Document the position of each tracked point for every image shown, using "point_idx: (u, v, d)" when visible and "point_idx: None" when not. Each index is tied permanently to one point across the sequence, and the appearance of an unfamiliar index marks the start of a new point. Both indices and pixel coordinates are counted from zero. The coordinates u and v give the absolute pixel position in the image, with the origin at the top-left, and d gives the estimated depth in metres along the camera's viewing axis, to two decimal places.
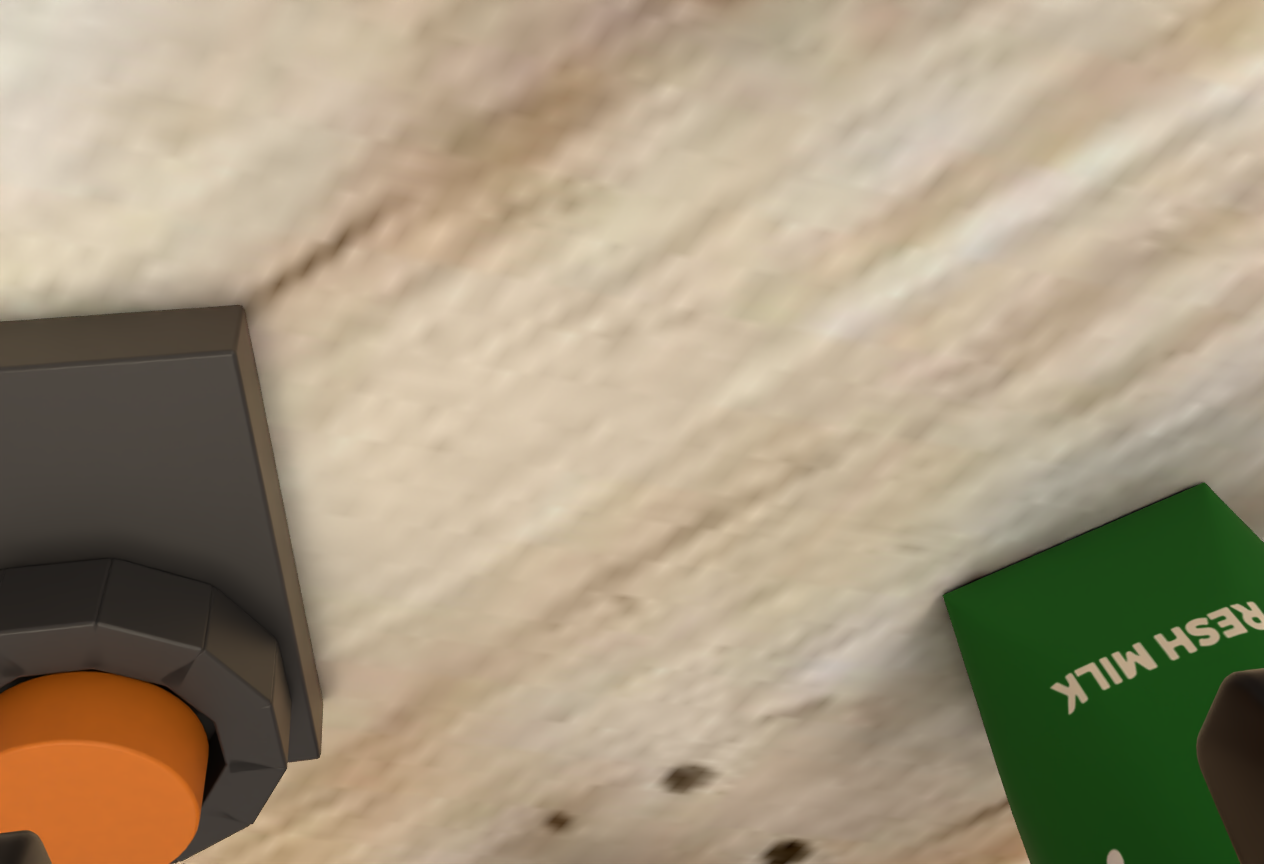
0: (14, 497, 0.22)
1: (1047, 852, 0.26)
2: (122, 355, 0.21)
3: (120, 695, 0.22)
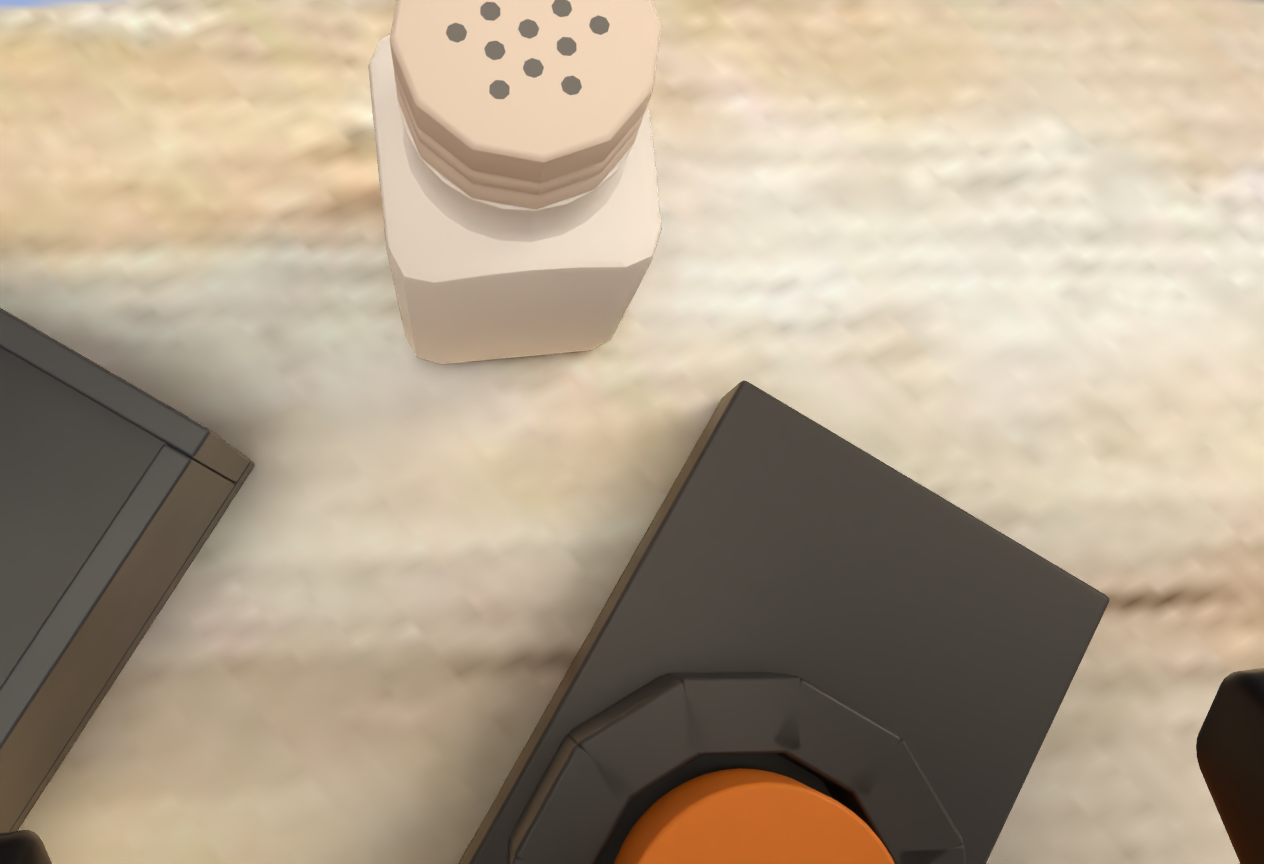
0: (844, 609, 0.21)
1: None
2: None
3: None
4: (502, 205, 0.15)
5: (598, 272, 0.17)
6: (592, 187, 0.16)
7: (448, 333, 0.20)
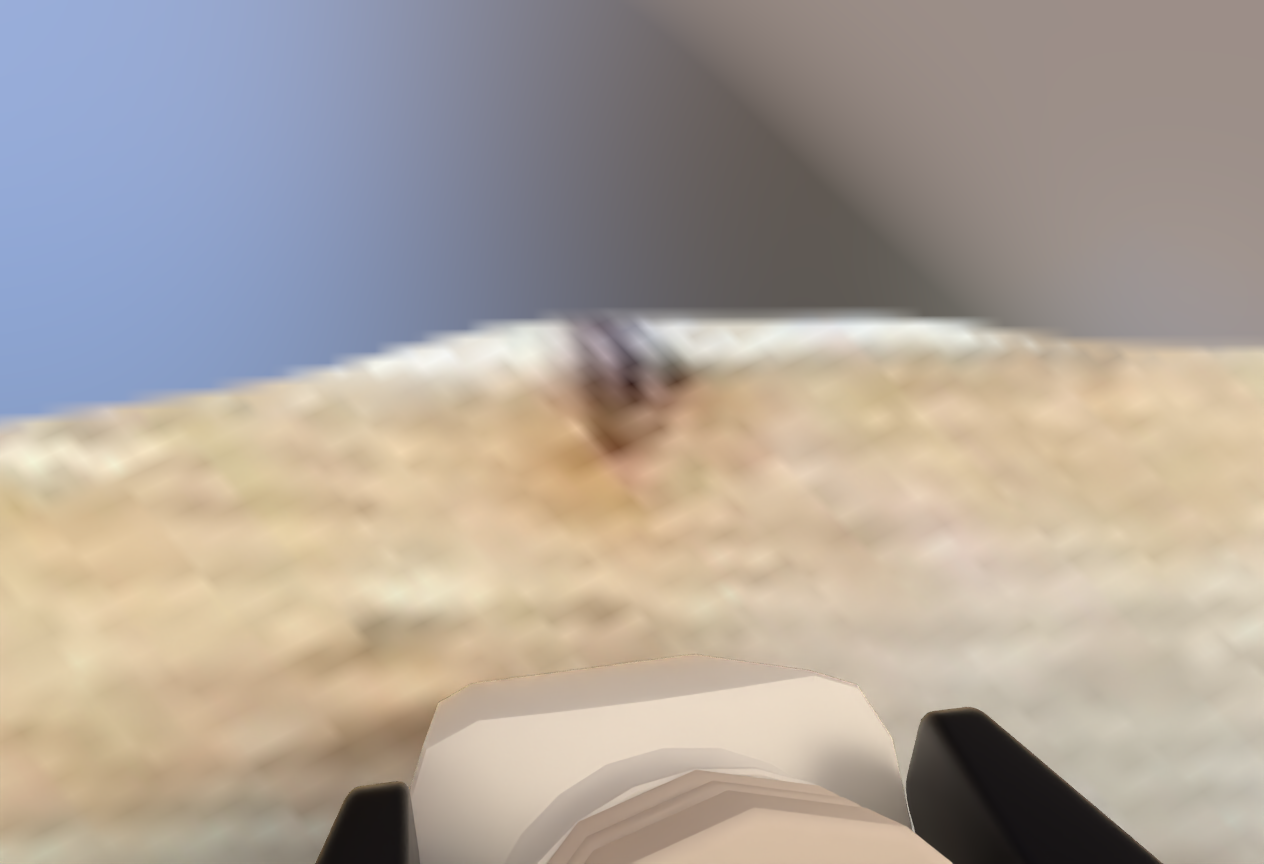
0: None
1: None
2: None
3: None
4: None
5: None
6: None
7: None
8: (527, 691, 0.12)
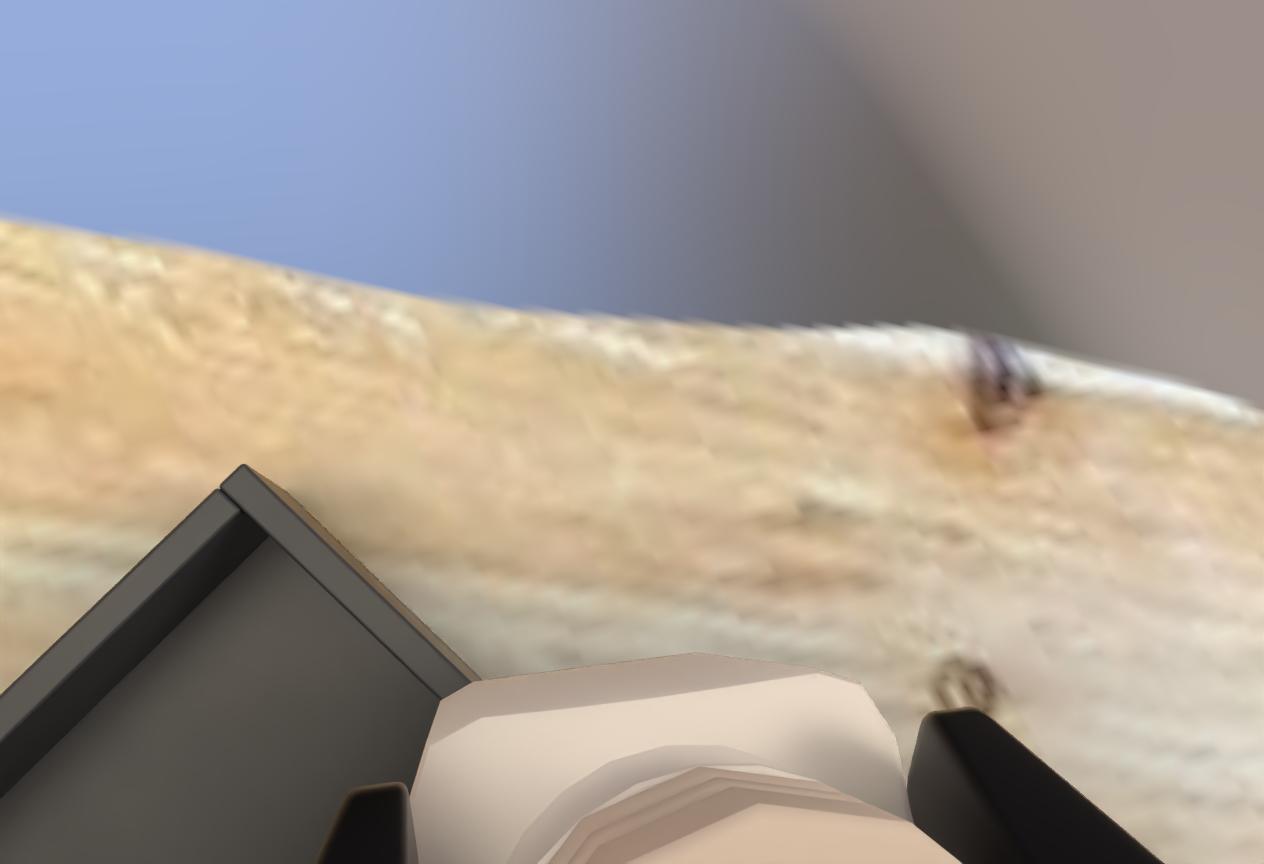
0: None
1: None
2: None
3: None
4: None
5: None
6: None
7: None
8: (530, 689, 0.12)
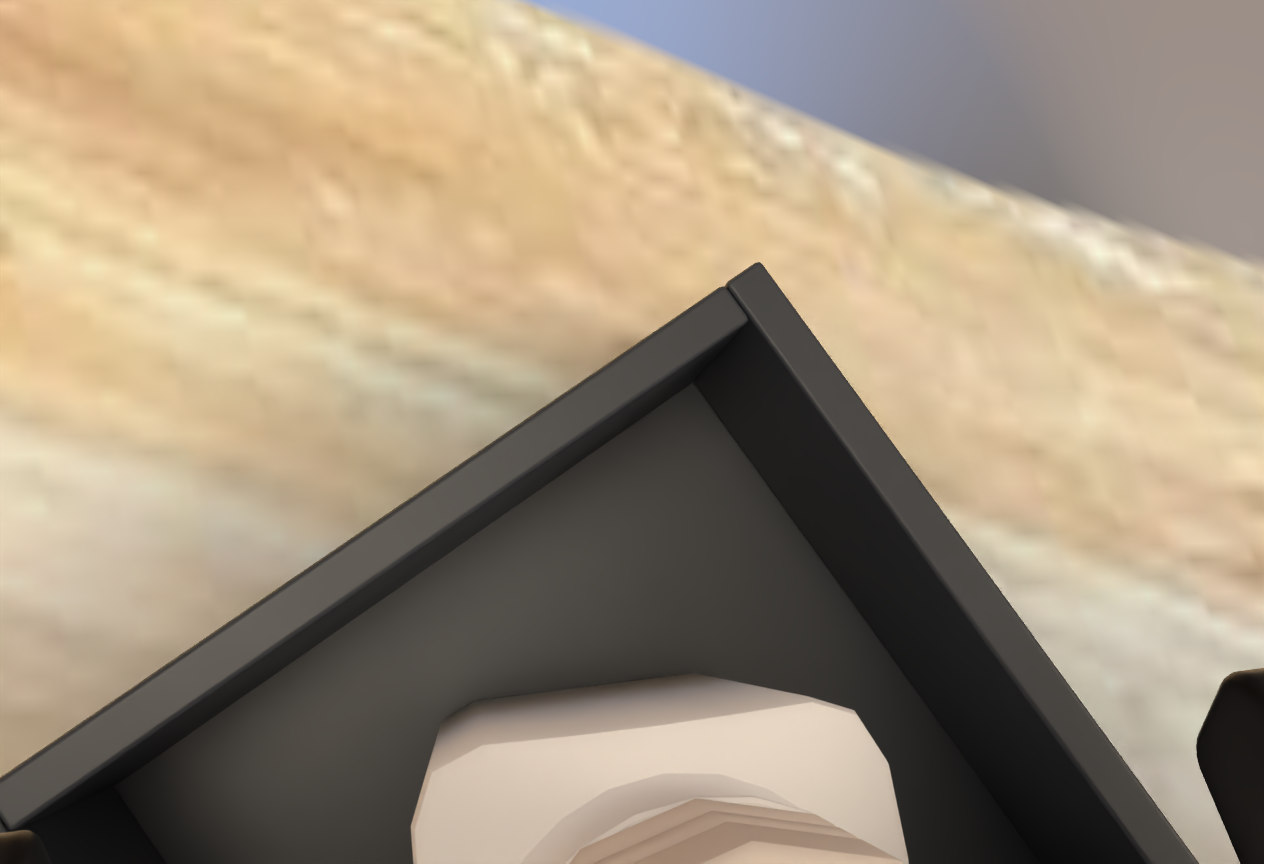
0: None
1: None
2: None
3: None
4: None
5: None
6: None
7: None
8: (530, 712, 0.12)
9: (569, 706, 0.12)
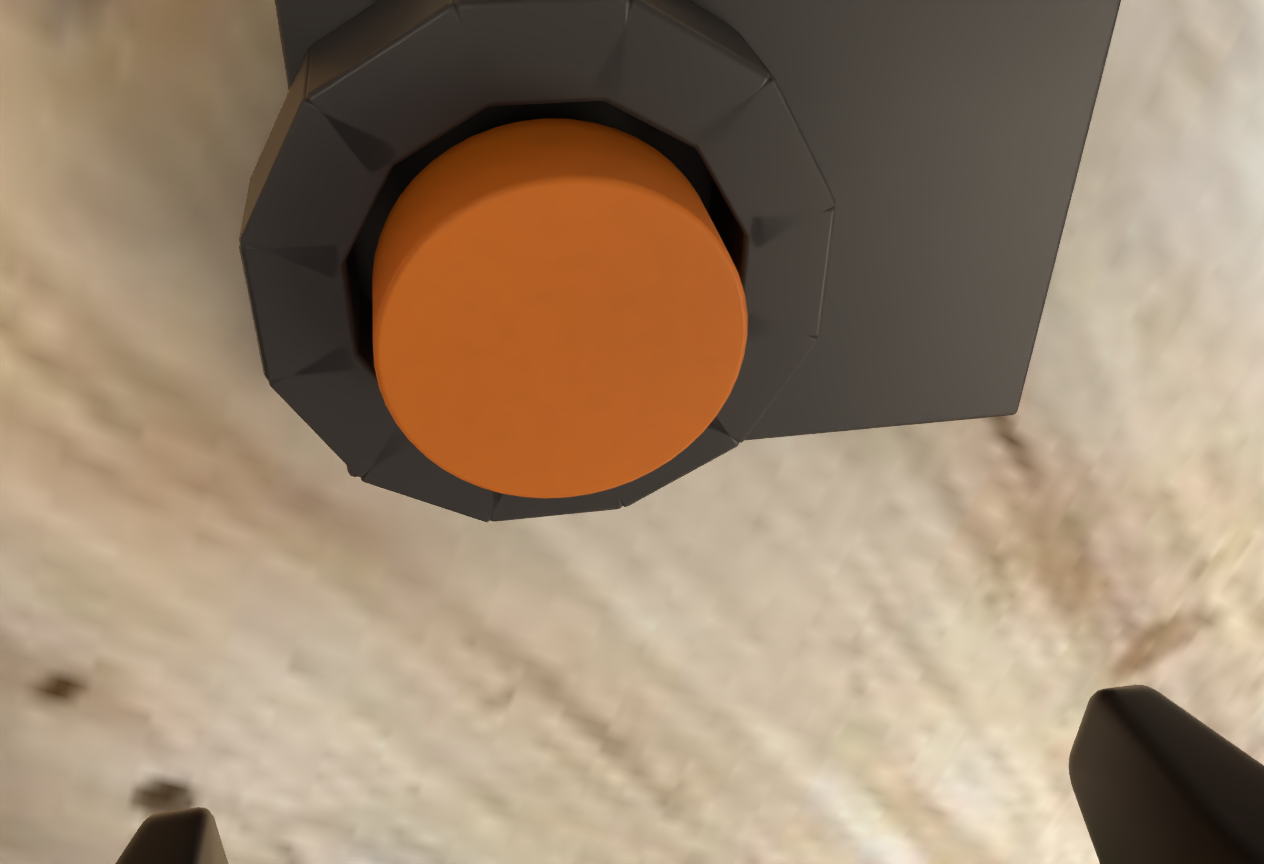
0: (901, 183, 0.17)
1: None
2: None
3: None
4: None
5: None
6: None
7: None
8: None
9: None
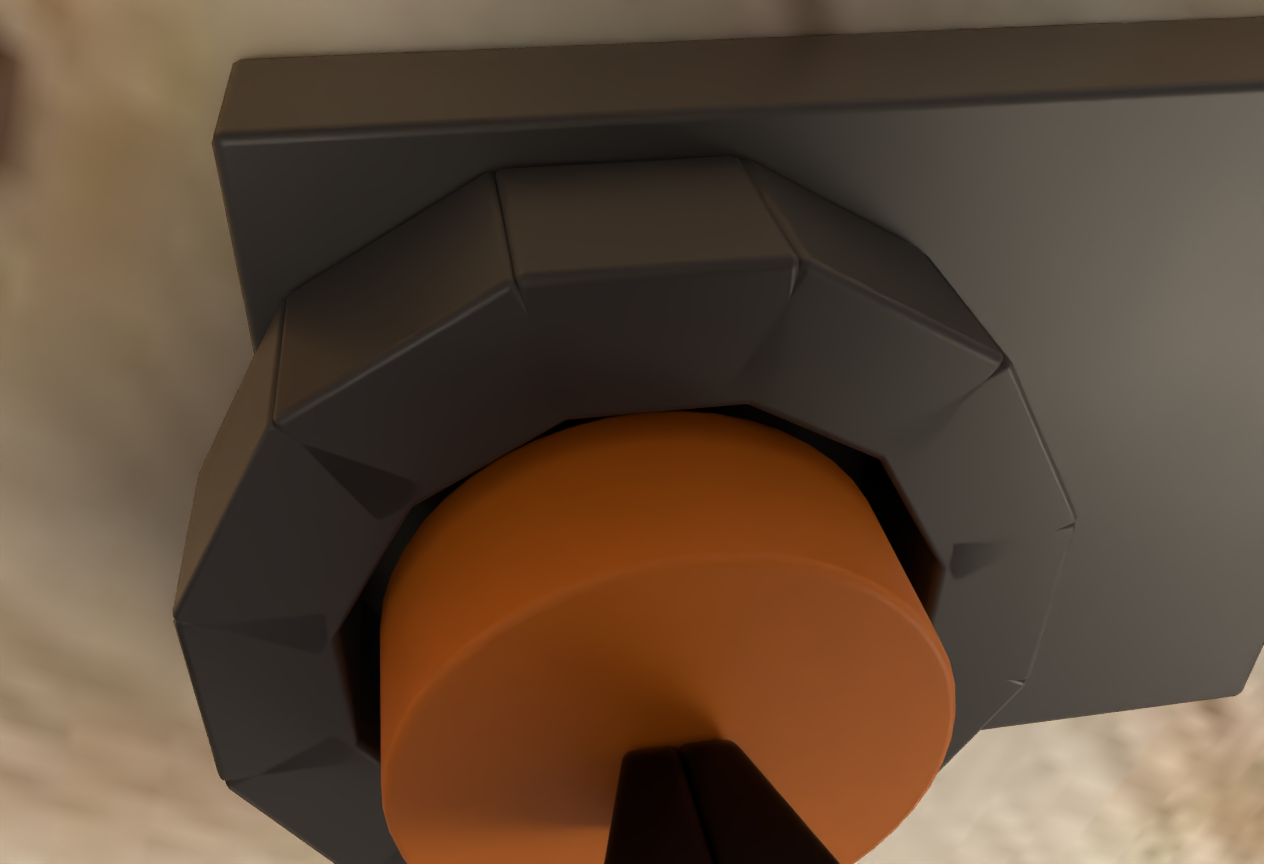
0: (1131, 436, 0.12)
1: None
2: None
3: None
4: None
5: None
6: None
7: None
8: None
9: None
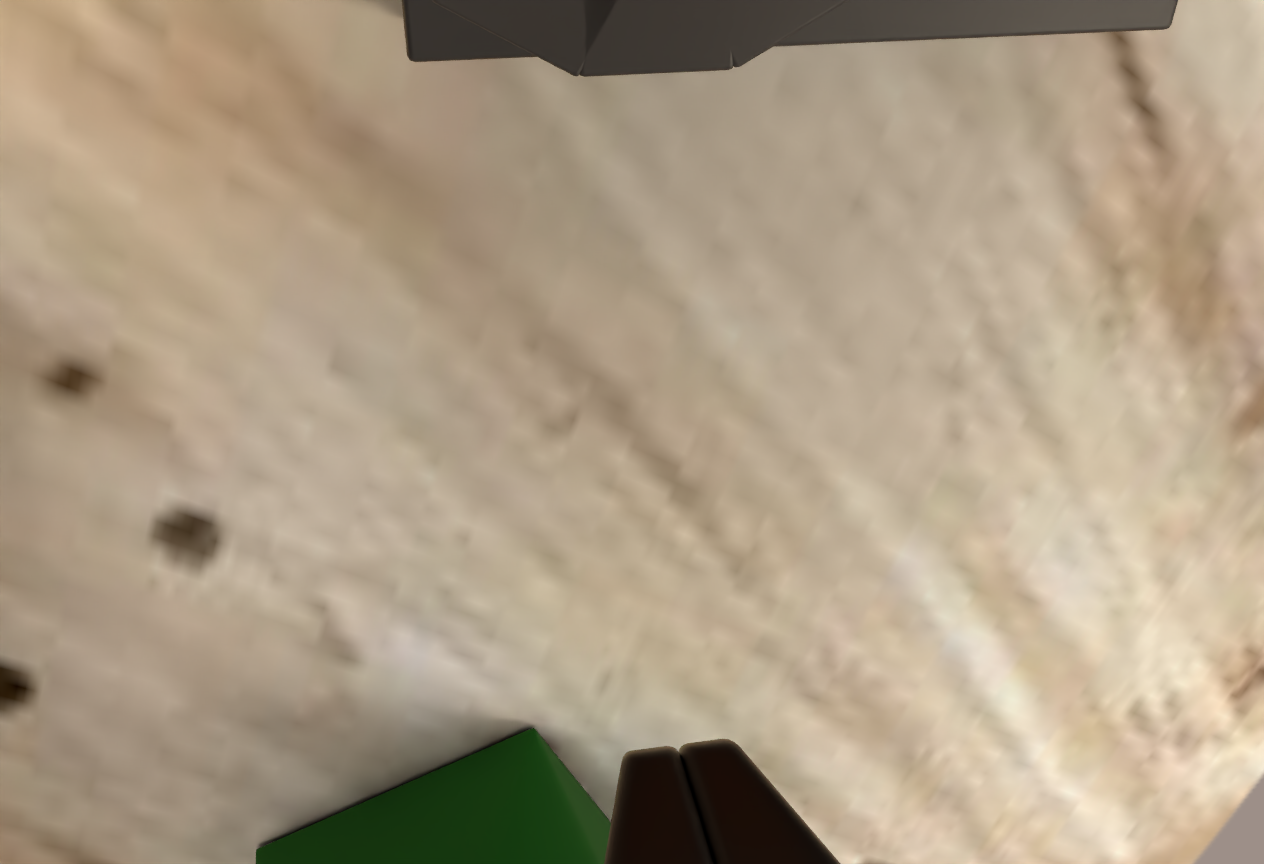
0: None
1: None
2: None
3: None
4: None
5: None
6: None
7: None
8: None
9: None
